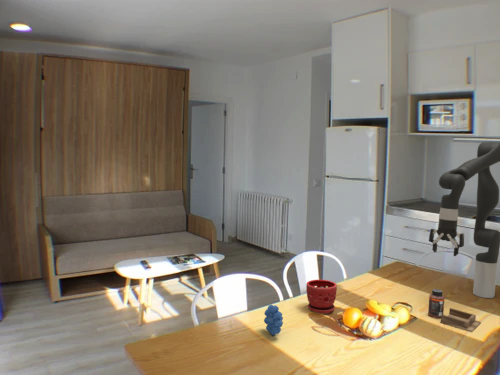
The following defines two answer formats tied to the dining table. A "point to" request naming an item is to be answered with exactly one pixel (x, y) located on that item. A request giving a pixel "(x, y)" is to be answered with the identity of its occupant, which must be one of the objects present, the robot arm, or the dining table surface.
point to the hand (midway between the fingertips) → (444, 253)
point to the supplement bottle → (436, 303)
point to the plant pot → (321, 295)
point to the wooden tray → (460, 320)
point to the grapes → (273, 320)
